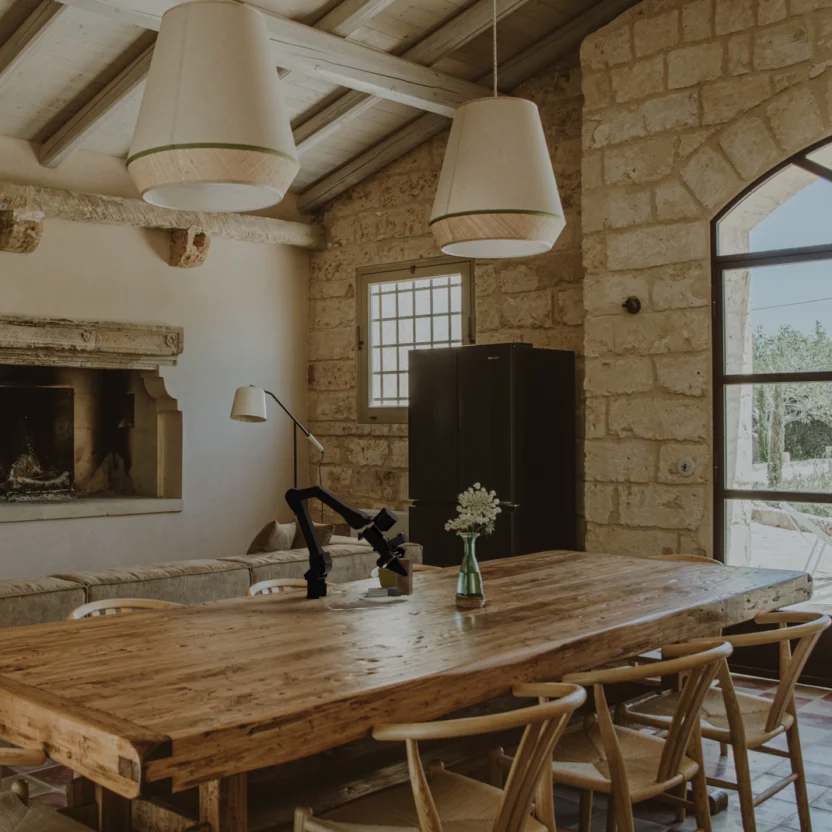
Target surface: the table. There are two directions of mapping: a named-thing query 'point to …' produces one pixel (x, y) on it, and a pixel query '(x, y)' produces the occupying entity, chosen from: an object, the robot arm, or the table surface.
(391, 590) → the black rubber block
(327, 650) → the table surface
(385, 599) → the sage board
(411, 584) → the walnut post
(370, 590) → the grey metal block
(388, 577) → the flower pot
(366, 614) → the table surface
